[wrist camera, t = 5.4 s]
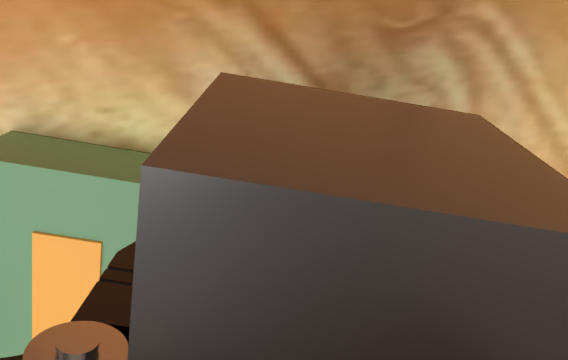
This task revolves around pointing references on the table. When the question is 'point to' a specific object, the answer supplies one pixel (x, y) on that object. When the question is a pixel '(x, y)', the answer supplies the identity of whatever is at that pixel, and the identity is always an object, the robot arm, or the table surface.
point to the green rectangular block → (59, 227)
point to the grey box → (345, 234)
